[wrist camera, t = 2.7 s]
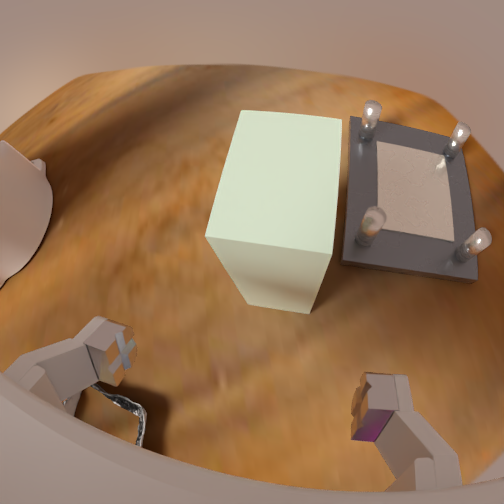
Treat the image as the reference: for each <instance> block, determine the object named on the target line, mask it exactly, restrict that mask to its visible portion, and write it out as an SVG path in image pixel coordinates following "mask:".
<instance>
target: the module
mask: <svg viewBox="0 0 504 504" xmlns="http://www.w3.org/2000/svg"><path fill="white" fill-rule="evenodd" d="M341 131H342V119H335V118H327V117H320V116H311V115H302V114H292V113H281V112H268V111H252V110H241V113H240V116H239V119H238V122H237V126H236V129H235V132H234V135H233V139H232V142H231V145H230V149H229V152H228V155H227V159H226V162H225V166H224V169H223V172H222V176H221V179H220V183H219V186H218V190H217V193H216V197H215V201H214V204H213V208H212V211H211V215H210V219H209V222H208V226H207V230H206V234H205V237H206V239H207V240H208V242H209V244H210V245H211V247H212V248H213V250H214V252H215V253H216V255H217V256H218V258H219V260H220V261H221V263H222V264H223V266H224V268H225V269H226V271H227V272H228V274H229V275H230V277H231V279H232V280H233V282H234V283H235V285H236V286H237V288H238V290H239V291H240V293H241V294H242V296H243V297H244V299H245V300H246V302H247V303H248V304H249V305H255V306H261V307H267V308H273V309H279V310H285V311H292V312H298V313H305V314H310V311H311V309H312V306H313V304H314V301H315V299H316V296H317V293H318V291H319V288H320V286H321V283H322V280H323V278H324V275H325V272H326V270H327V267H328V264H329V262H330V259H331V256H332V251H333V242H334V232H335V222H336V211H337V199H338V186H339V171H340V153H341Z"/></svg>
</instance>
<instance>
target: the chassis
mask: <svg viewBox="0 0 504 504" xmlns="http://www.w3.org/2000/svg"><path fill="white" fill-rule="evenodd" d="M381 110H382V106H381V104H380V103H378V102H376V101H373V100H369V101H367V102H366V103H365V107H364V112H363V116H362V118H360V117H353V116H350V121H349V150H348V175H347V193H346V208H345V222H344V234H343V245H342V255H341V264H340V265H347V266H354V267H361V268H368V269H375V270H381V271H388V272H395V273H402V274H409V275H416V276H422V277H429V278H436V279H443V280H450V281H457V282H463V283H470V284H472V283H474V282H476V281H477V280H478V265H477V254H478V253H480V252H481V251H483V250H484V249H485V248H487V247H488V246H489V245H490V244H491V242H492V237H491V234H490V232H489V231H488V230H487V229H486V228H483V227H482V228H479V229H478V230H477V231H476V232H475V225H474V216H473V208H472V201H471V194H470V188H469V182H468V176H467V171H466V166H465V161H464V156H463V151H462V146H463V145H464V143H465V141H466V140H467V138H468V136H469V135H470V133H471V129H470V127H469V126H468V125H467V124H465V123H463V122H458V124H457V126H456V127H455V129H454V131H453V133H452V135H451V137H447V136H443V135H439V134H436V133H432V132H428V131H424V130H419V129H415V128H411V127H406V126H402V125H397V124H392V123H387V122H382V121H379V117H380V113H381Z"/></svg>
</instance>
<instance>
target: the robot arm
mask: <svg viewBox="0 0 504 504" xmlns="http://www.w3.org/2000/svg"><path fill="white" fill-rule="evenodd" d="M52 203H53V195H52V189H51V186H50V184H49V182H48V180H47V178H46V164H45V162H44V161H42V160H41V159H36V160H32V161H29V160H28V159H27V158H26V157H24V156H23V155H22V154H21V153H19V152H18V151H17V150H16V149H15V148H13V147H12V146H11V145H10V144H8V143H7V142H6V141H3V140H2V141H0V288H1V286H2V285H3V283H4V282H5V280H6V279H8V278H9V277H10V276H12V275H13V274H15V273H17V272H18V271H19V270H20V269H21V268H22V267H24V265H25V264H26V263H27V262H28V261H29V260H30V258H31V257H32V256H33V254H34V253H35V251H36V250H37V248H38V246H39V244H40V242H41V241H42V238H43V236H44V234H45V232H46V229H47V226H48V223H49V220H50V216H51V211H52ZM133 336H134V332H133V328H132V327H131V326H128V325H125V324H122V323H119V322H116V321H113V320H110V319H106V318H104V317H101V316H96V317H94V318H93V319H92V320H91V321H90V322H89V323H88V324H87V325H86V326H85V327H84V328H83V329H82V330H81V331H80V332H79V333H78V334H77V335H76V336H75V337H74V338H73V339H70V338H69V339H66V340H63V341H61V342H58V343H55V344H52V345H49V346H46V347H43V348H40V349H37V350H34V351H31V352H29V353H26V354H23V355H21V356H20V357H19V358H18V359H17V360H16V361H15V362H14V363H13V364H12V365H11V366H10V367H9V368H8V369H7V370H6V371H5V372H4V373H2V372H0V504H504V477H503V478H498V479H494V480H489V481H485V482H480V483H474V484H468V485H462V479H461V472H460V466H459V460H458V455H457V454H456V452H455V451H454V450H453V449H452V448H451V447H450V446H449V445H448V444H447V443H446V442H445V440H444V439H443V438H442V437H441V436H440V435H439V434H438V433H437V432H436V431H435V430H434V428H433V427H432V426H431V425H430V424H429V423H428V422H427V421H426V420H425V419H424V418H423V416H422V415H421V414H420V413H419V412H414V407H413V401H412V396H411V391H410V385H409V380H408V377H407V375H400V374H385V373H373V372H364V373H363V374H362V376H361V379H360V386H359V387H358V388H356V391H355V393H354V396H353V400H352V407H351V414H352V415H353V417H354V420H353V422H352V424H351V440H356V441H367V442H375V445H376V447H377V448H378V450H379V452H380V453H381V455H382V457H383V458H384V460H385V462H386V463H387V465H388V466H389V468H390V470H391V471H392V473H393V475H394V476H395V478H396V481H395V482H394V483H393V484H392V485H391V486H390V487H388V488H387V489H386V490H385V491H384V492H352V491H334V490H321V489H311V488H302V487H294V486H287V485H280V484H274V483H268V482H262V481H257V480H252V479H247V478H242V477H238V476H233V475H229V474H225V473H221V472H217V471H213V470H209V469H206V468H202V467H198V466H195V465H192V464H188V463H185V462H182V461H179V460H176V459H172V458H169V457H167V456H164V455H161V454H158V453H155V452H152V451H150V450H147V449H144V448H142V447H139V446H137V445H134V444H132V443H129V442H127V441H124V440H122V439H120V438H117V437H115V436H113V435H110V434H108V433H106V432H104V431H102V430H99V429H97V428H95V427H93V426H91V425H89V424H87V423H85V422H83V421H81V420H79V419H77V418H75V417H73V416H71V415H69V414H68V413H67V412H66V409H65V407H64V405H63V404H62V402H61V401H63V400H65V399H67V398H69V397H71V396H72V395H74V394H76V393H78V392H80V391H82V390H83V389H85V388H87V387H89V386H91V385H93V384H94V383H96V382H98V380H100V381H102V382H105V383H108V384H111V385H113V386H116V387H117V386H118V385H119V383H120V382H121V381H122V379H123V378H124V376H125V370H126V369H128V368H130V367H132V365H133V364H134V362H135V360H136V356H137V345H136V343H135V342H134V340H133V339H132V337H133Z"/></svg>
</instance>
